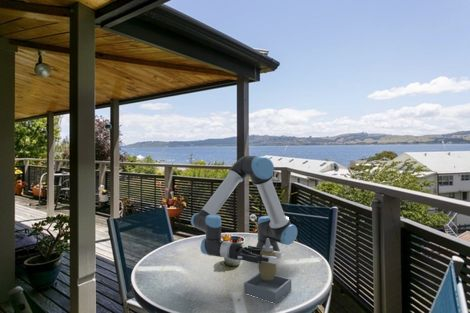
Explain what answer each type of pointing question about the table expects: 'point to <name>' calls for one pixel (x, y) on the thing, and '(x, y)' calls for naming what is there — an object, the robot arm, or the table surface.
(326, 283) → the table surface
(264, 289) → the bin
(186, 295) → the table surface
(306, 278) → the table surface
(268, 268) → the squeeze bottle
